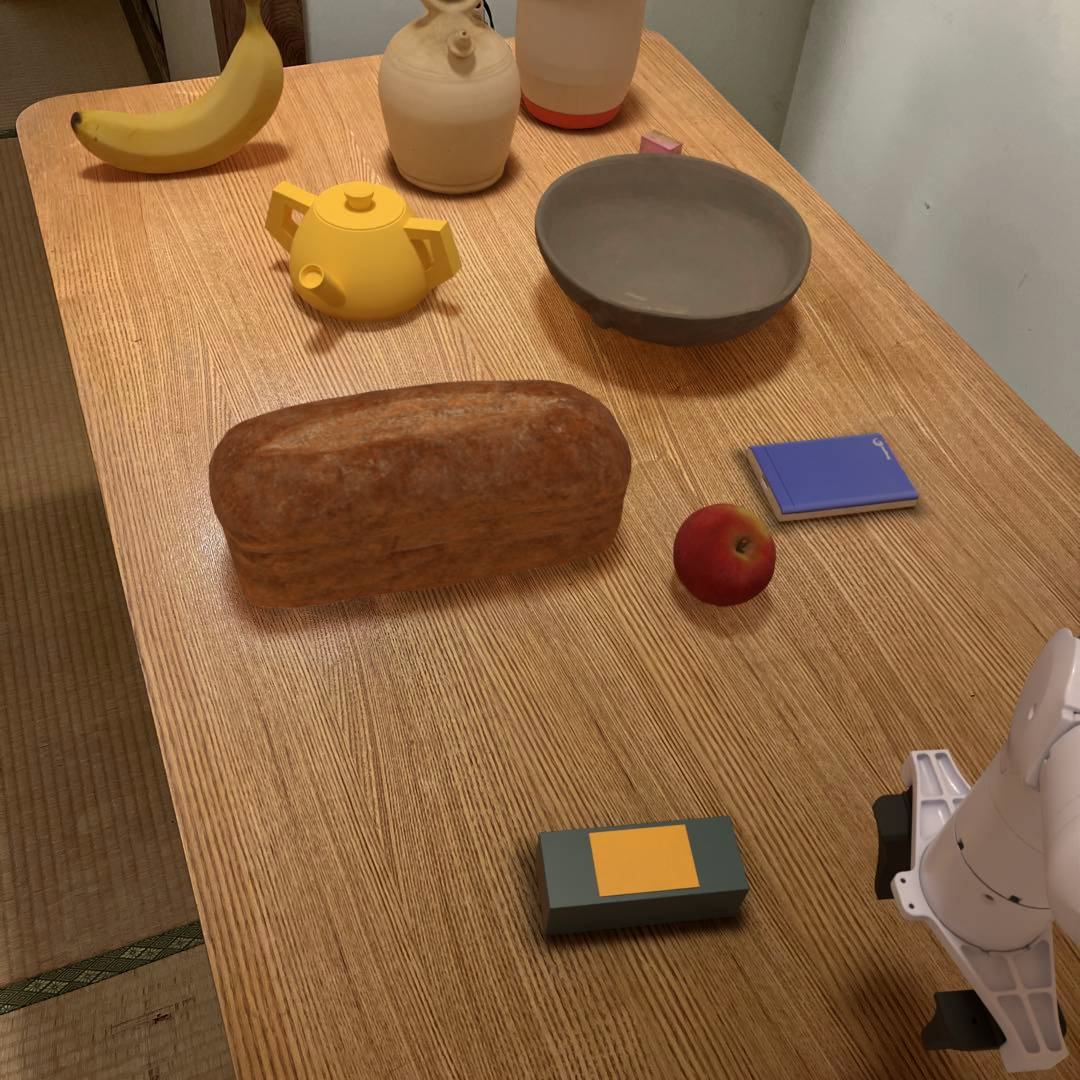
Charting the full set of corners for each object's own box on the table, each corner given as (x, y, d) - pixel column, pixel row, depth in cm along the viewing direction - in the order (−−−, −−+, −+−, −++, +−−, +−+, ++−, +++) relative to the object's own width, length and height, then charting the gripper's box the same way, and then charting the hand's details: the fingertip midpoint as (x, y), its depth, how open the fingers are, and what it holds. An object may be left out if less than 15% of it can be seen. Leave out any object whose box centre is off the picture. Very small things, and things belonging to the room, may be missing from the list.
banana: (86, 190, 116) (34, -4, 101) (82, 163, 119) (32, -28, 104) (296, 167, 122) (277, -18, 107) (287, 142, 125) (267, -41, 111)
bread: (220, 515, 86) (192, 384, 76) (588, 462, 93) (606, 336, 83) (234, 634, 78) (204, 506, 68) (633, 567, 85) (659, 441, 75)
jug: (391, 129, 129) (382, -102, 110) (519, 140, 129) (533, -88, 111) (372, 197, 119) (360, -46, 100) (512, 208, 119) (525, -31, 101)
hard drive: (879, 430, 96) (749, 443, 94) (920, 495, 91) (783, 511, 88) (874, 443, 97) (746, 456, 95) (914, 508, 92) (779, 524, 90)
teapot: (219, 327, 102) (199, 224, 93) (304, 228, 114) (293, 129, 105) (417, 378, 99) (415, 277, 91) (482, 272, 111) (486, 173, 102)
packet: (717, 844, 70) (730, 814, 67) (736, 916, 67) (750, 888, 64) (534, 861, 68) (539, 831, 65) (544, 936, 65) (549, 908, 62)
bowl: (817, 283, 114) (844, 197, 106) (743, 431, 97) (768, 342, 90) (590, 213, 120) (600, 127, 112) (483, 341, 103) (486, 250, 96)
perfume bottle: (603, 182, 124) (607, 145, 121) (666, 148, 131) (672, 112, 127) (685, 225, 119) (692, 188, 116) (747, 187, 126) (755, 151, 122)
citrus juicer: (574, 65, 144) (590, -100, 129) (658, 121, 135) (684, -50, 120) (477, 91, 137) (481, -81, 122) (558, 151, 128) (574, -26, 113)
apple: (662, 621, 82) (680, 552, 76) (668, 543, 87) (685, 473, 81) (762, 636, 81) (787, 568, 76) (762, 557, 87) (785, 487, 81)
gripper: (879, 704, 50) (806, 838, 60) (996, 1029, 40) (885, 1124, 51) (1022, 697, 51) (926, 831, 61) (1170, 1015, 41) (1026, 1111, 51)
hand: (916, 964), depth 56 cm, fingers open, 7 cm apart
